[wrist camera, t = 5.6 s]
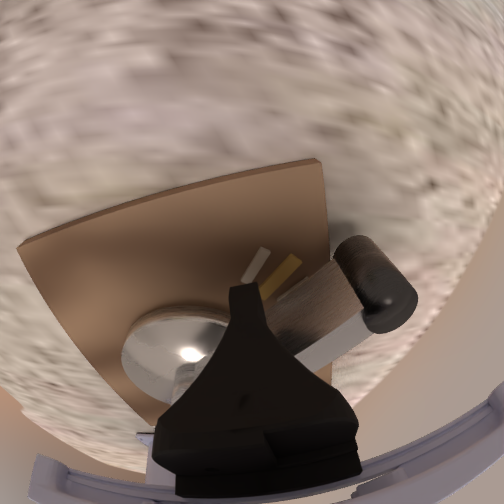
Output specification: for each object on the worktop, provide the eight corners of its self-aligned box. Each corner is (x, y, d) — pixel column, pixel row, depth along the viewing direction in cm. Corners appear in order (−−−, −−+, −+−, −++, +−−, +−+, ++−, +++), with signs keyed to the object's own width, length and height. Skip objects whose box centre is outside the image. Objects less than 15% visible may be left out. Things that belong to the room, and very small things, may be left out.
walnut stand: (327, 394, 22) (330, 405, 21) (151, 417, 22) (150, 427, 21) (314, 158, 12) (322, 163, 11) (24, 240, 12) (14, 250, 11)
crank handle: (205, 407, 19) (205, 459, 15) (103, 353, 15) (84, 412, 11) (398, 284, 14) (440, 340, 10) (309, 161, 11) (358, 197, 7)
